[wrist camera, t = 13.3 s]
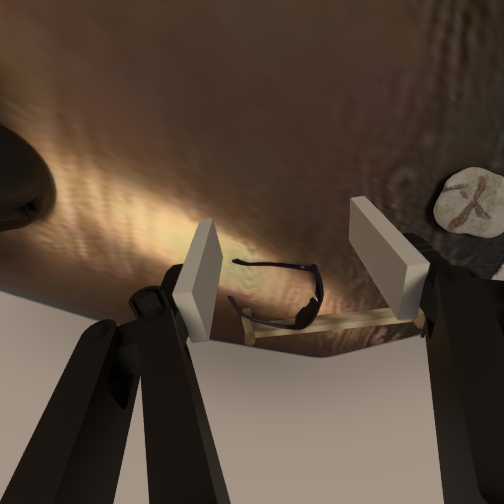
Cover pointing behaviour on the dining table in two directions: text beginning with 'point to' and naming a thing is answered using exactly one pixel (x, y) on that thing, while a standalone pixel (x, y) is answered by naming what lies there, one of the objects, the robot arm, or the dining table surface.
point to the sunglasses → (306, 313)
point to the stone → (472, 203)
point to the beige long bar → (326, 323)
